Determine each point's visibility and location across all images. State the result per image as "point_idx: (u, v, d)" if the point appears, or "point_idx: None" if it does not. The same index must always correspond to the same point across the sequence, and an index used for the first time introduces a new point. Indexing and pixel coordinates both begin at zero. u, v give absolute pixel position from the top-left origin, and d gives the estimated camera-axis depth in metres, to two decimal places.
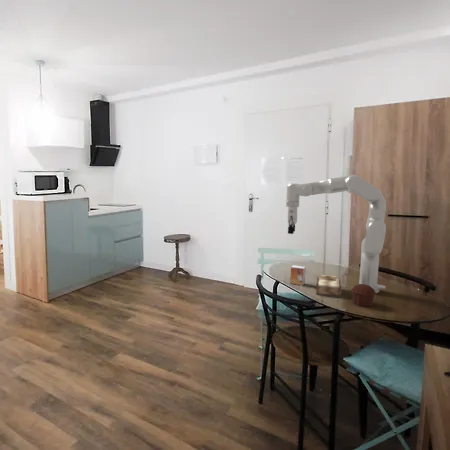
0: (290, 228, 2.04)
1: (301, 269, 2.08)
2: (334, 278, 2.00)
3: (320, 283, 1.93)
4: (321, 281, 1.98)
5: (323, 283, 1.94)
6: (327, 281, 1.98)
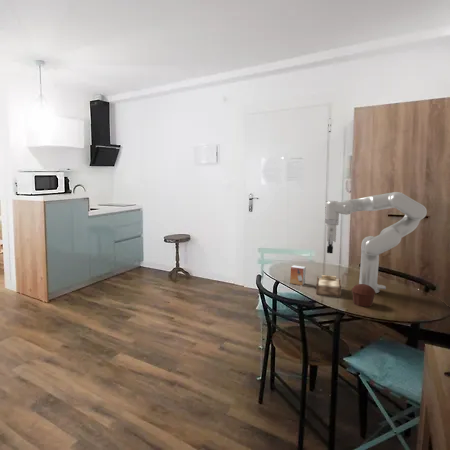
0: (329, 247, 2.03)
1: (301, 269, 2.08)
2: (334, 278, 2.00)
3: (320, 283, 1.93)
4: (321, 281, 1.98)
5: (323, 283, 1.94)
6: (327, 281, 1.98)
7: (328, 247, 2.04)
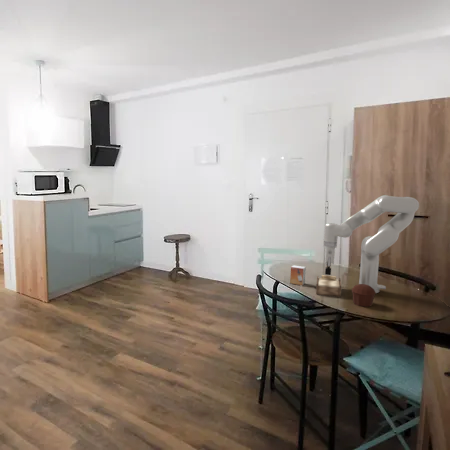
0: (328, 269, 2.05)
1: (301, 269, 2.08)
2: (334, 278, 2.00)
3: (320, 283, 1.93)
4: (321, 281, 1.98)
5: (323, 283, 1.94)
6: (327, 281, 1.98)
7: (326, 269, 2.06)
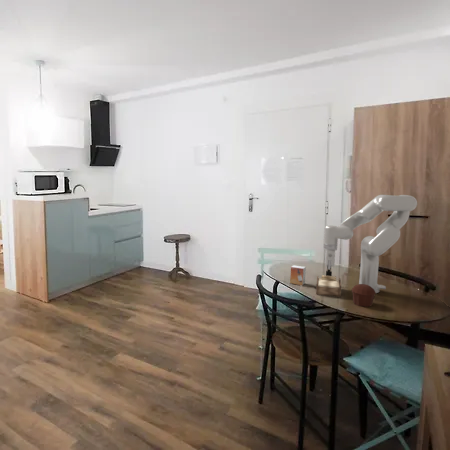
0: (328, 272, 2.02)
1: (301, 269, 2.08)
2: (334, 278, 1.99)
3: (320, 283, 1.93)
4: (321, 281, 1.98)
5: (323, 283, 1.93)
6: (327, 281, 1.97)
7: None
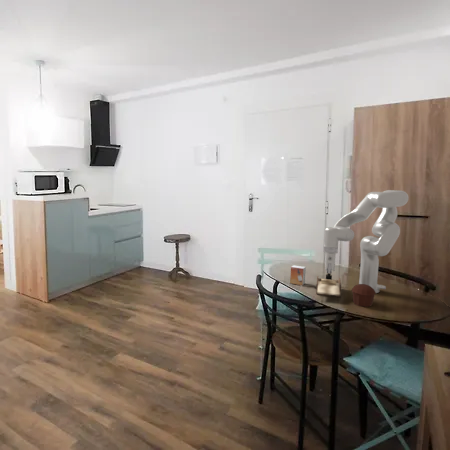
0: (328, 276, 1.93)
1: (301, 269, 2.08)
2: (334, 282, 1.90)
3: (319, 290, 1.85)
4: (321, 286, 1.89)
5: (322, 290, 1.85)
6: (327, 286, 1.89)
7: (327, 276, 1.94)
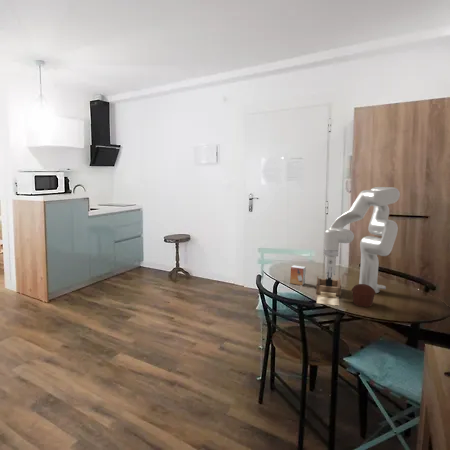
0: (328, 281, 1.85)
1: (301, 269, 2.08)
2: (334, 295, 1.87)
3: (319, 301, 1.80)
4: (320, 298, 1.85)
5: (322, 301, 1.80)
6: (326, 299, 1.84)
7: (327, 280, 1.86)
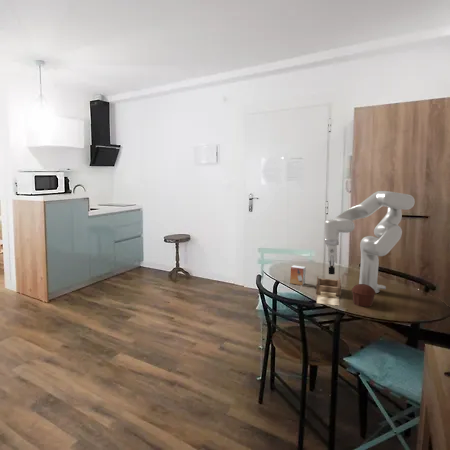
0: (331, 269, 1.94)
1: (301, 269, 2.08)
2: (334, 295, 1.87)
3: (319, 301, 1.80)
4: (320, 298, 1.85)
5: (322, 301, 1.80)
6: (326, 299, 1.84)
7: (329, 268, 1.94)
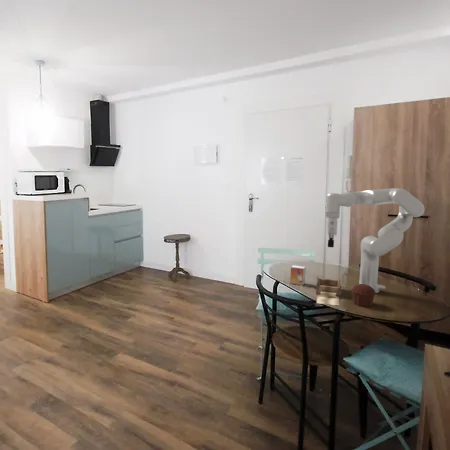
0: (330, 241, 1.97)
1: (301, 269, 2.08)
2: (334, 295, 1.87)
3: (319, 301, 1.80)
4: (320, 298, 1.85)
5: (322, 301, 1.80)
6: (326, 299, 1.84)
7: (329, 241, 1.98)
